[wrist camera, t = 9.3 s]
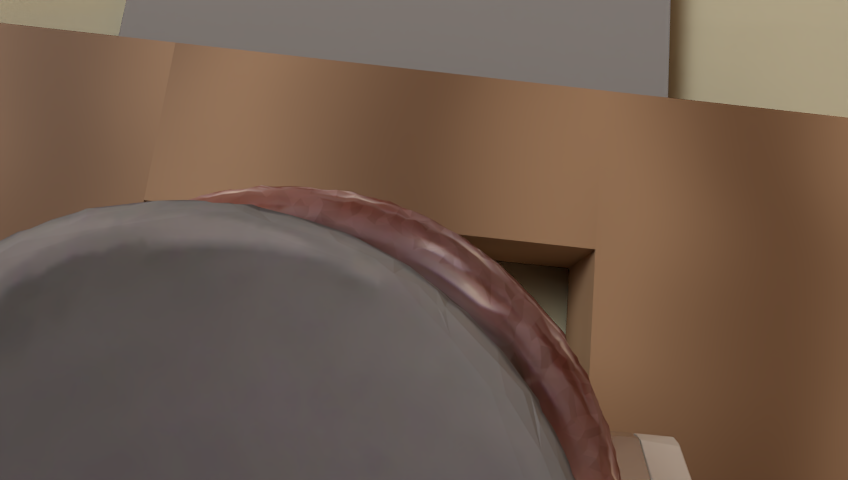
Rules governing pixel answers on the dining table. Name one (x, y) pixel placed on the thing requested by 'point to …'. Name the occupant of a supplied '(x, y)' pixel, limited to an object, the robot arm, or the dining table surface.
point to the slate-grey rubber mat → (437, 35)
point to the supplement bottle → (281, 349)
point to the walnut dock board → (504, 210)
